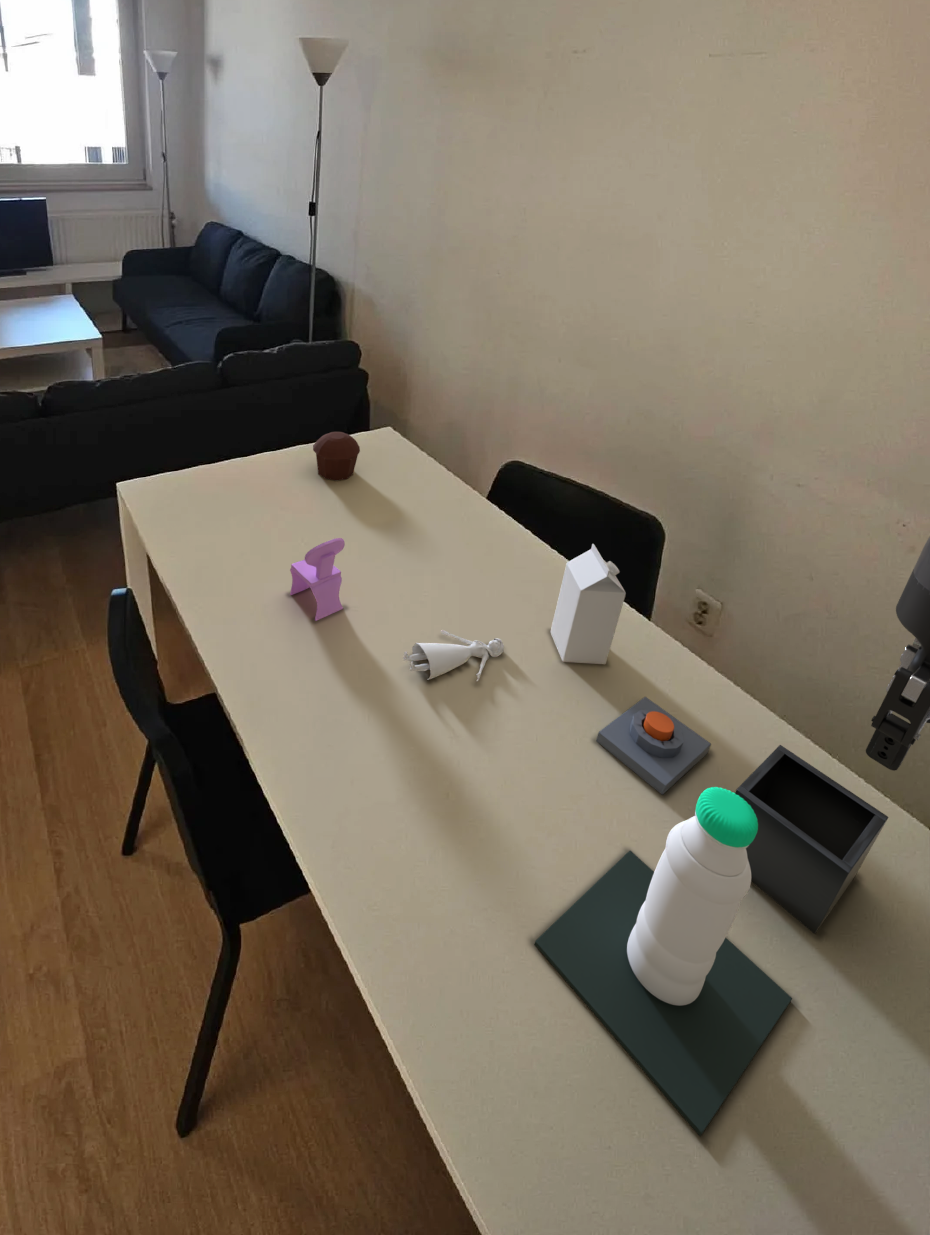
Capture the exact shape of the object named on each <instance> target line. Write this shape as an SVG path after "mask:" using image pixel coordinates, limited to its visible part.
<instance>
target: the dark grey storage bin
mask: <svg viewBox="0 0 930 1235" xmlns="http://www.w3.org/2000/svg"><path fill="white" fill-rule="evenodd" d="M734 793H735V794H736V795H739V796H740V797H741V798H743V799H744V801H746V802H747V803H748V804H749V805H750V806H751V808H752V809H753V810H754V813H755V814H756V817H757V822H758V831H757V834H756V836H755V838H754V840H753V841H752V843H751V844H750V845H749V846H748V847H747V848H746V851H747V858H748V861H749V865H750V869H751V883H753V884H754V885H755V886H756V887H757V888H759V889H760V890H761V891H762V892H763V893H765V894H766V895H767V896H768V897H770V898H771V899H772V900H773V901H774V902H776V903H777V904H778V905H779V906H780V907H781V908H783V909H784V910H785V911H787V913H789V914H790V915H791V916H793V918H795V919H796V920H797V921H799V923H801V924H802V925H803V926H805V928H807V929H808V930H809V931H810V932H812V933H813V934H816V933H817V932H818V931H819V929H820V927H821V926H822V925H823V923H824V922H825V920H826V919H827V917H828V916H829V914H830V913H832V910H833V909H834V907H835V906H836V905H837V903H838V902H839V900H840V899H841V897H842V896H843V895H844V893H845V891H846V890H847V889H848V887H849V886H850V884H851V883H852V881H854V879H855V877H856V875H857V874H858V872H859V870H860V868H861V867H862V865H863V863H864V862H865V859H866V858H867V856H868V854H869V852H870V851H871V849H872V848H873V845H874V844H875V842H876V840H877V838H878V837H879V835H880V834H881V833H882V832H881V831H882V830H883V828H884V826H885V825H886V822H887V821H888V819H889V816H888V815H887V814H885V813H883V812H882V811H880V810H879V809H877V808H876V807H875V806H873V805H872V804H870V803H869V802H867V801H865V800H864V799H862V798H861V797H859V796H858V795H856V794H855V793H853V792H852V791H851V790H849V789H847V788H846V787H845V786H843V785H842V784H840V783H838V782H837V781H836V780H834V779H833V778H831V777H829V776H828V775H827V774H825V773H824V772H822V771H821V770H819V769H818V768H816V767H814V766H813V765H812V764H810V763H808V762H807V761H805V760H804V759H803V758H801V757H800V756H798V755H796V754H795V753H793V752H792V751H791V750H789V749H787V748H786V747H785V746H783V745H781V744H779V745H778V746H777V747H776V748H775V749H774V750H773V751H772V752H771V753H770V754H769V755H768V756H767V757H766V759H764V760H763V761H762V762H761V763H760V764H759V766H758V767H756V768H755V770H754V771H753V772H752V773H751V774H750V775H748V777H747V778H746V779H745V780H743V782H742V783H741V784H740V785H739V786H738V787H737V788H736V790H735V791H734Z"/></svg>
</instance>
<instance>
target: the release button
mask: <svg viewBox="0 0 930 1235" xmlns="http://www.w3.org/2000/svg"><path fill="white" fill-rule="evenodd" d="M643 727H644V730H645V731H646V733H647V734H648V735H650V736H651V737H652V738H654V739H657V740H660V741H668V740H669V739H670V738H671V736H672V733H673V730H674V724H673V722H672V720H671V719H670V718H669V717H667V716H666V715H664V714H662V713H660V712H655V711H653V712H649V713H648V714H647V715H646V718H645V721H644V724H643Z"/></svg>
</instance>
